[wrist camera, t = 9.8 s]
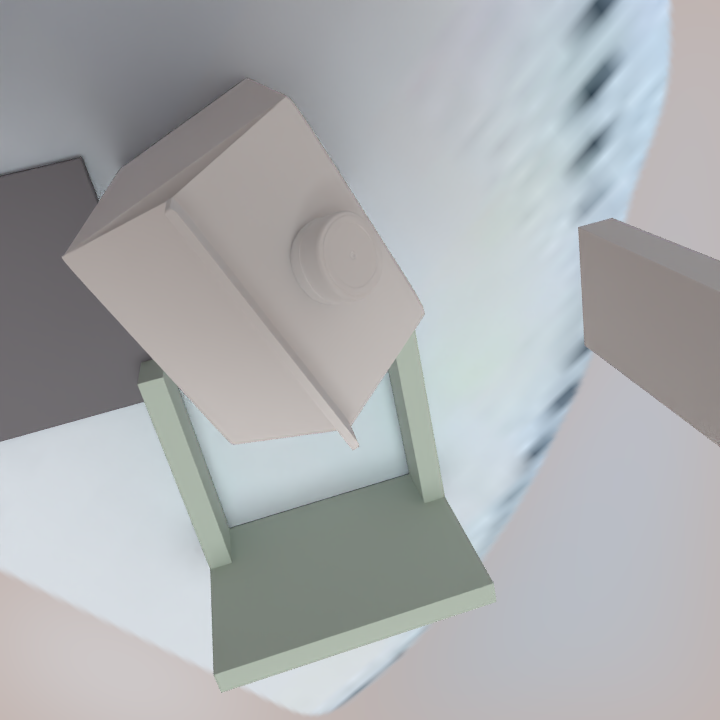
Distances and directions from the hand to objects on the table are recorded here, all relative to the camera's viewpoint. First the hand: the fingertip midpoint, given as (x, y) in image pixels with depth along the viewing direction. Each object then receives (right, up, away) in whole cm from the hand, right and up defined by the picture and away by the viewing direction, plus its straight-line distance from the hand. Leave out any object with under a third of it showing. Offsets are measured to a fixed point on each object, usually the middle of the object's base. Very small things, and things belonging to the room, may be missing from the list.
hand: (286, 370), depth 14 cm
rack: (-2, -3, +24) cm, 24 cm away
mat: (-15, +2, +18) cm, 24 cm away
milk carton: (-5, +8, +18) cm, 21 cm away
